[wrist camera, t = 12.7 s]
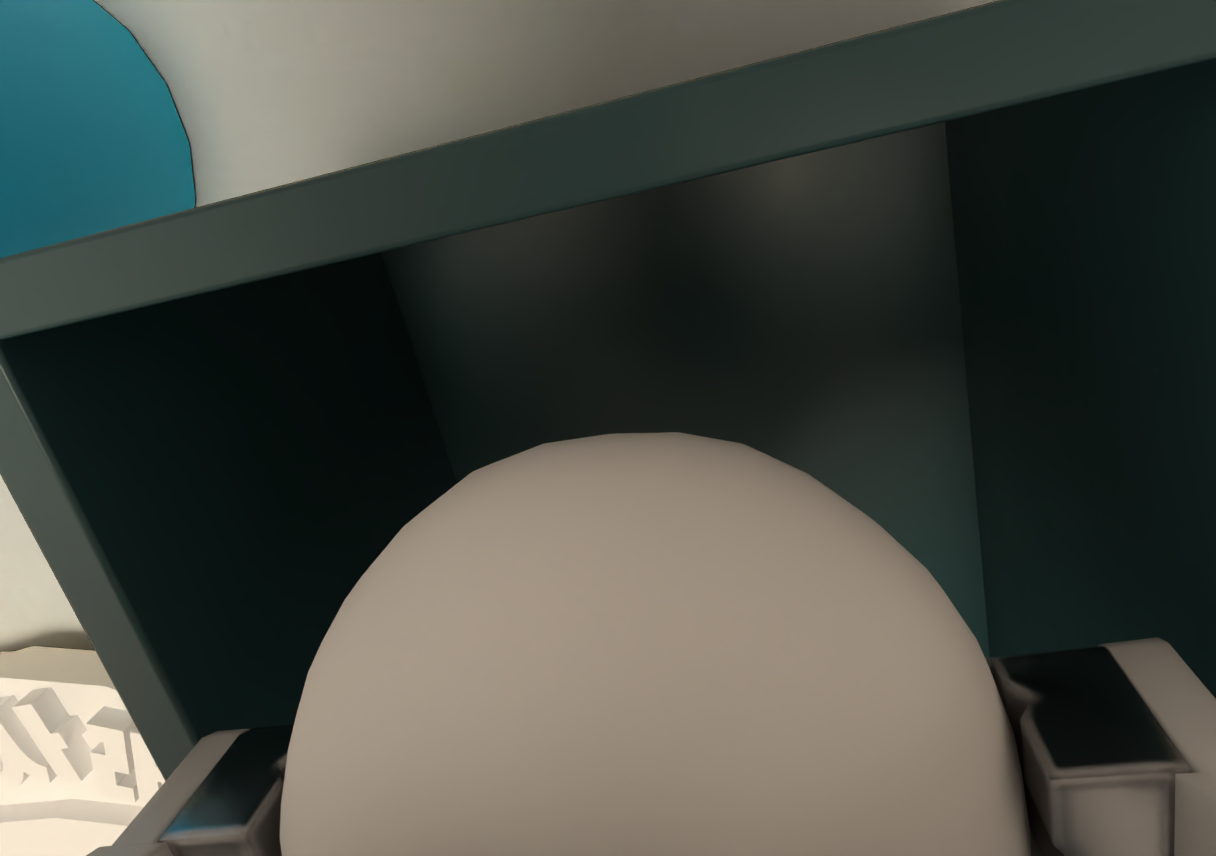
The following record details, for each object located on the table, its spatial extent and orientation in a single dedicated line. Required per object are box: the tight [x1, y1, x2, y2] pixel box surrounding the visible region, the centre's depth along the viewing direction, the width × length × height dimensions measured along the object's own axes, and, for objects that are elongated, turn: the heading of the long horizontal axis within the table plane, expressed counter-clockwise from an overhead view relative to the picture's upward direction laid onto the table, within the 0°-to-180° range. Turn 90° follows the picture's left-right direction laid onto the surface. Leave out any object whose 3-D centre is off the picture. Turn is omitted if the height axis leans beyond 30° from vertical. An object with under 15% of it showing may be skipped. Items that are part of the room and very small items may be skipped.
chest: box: [0, 0, 1216, 781], centre depth 15 cm, size 17×14×11 cm
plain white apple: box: [280, 432, 1031, 856], centre depth 8 cm, size 7×7×8 cm
